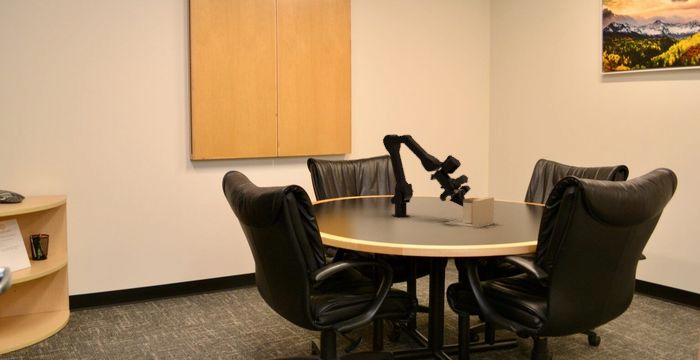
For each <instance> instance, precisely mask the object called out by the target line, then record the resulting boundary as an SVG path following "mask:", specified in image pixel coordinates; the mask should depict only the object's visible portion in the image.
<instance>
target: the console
mask: <svg viewBox="0 0 700 360" xmlns="http://www.w3.org/2000/svg"><path fill="white" fill-rule="evenodd" d="M494 217H495V197H494V196H486V197H481V198H480V199H476V200H473V215H472V223H464V222H463V218H457V219H455V220H450V221H446V222H445V224H446V225H451V226H459V227H468V228H475V229H477V228H478V229H479V228H483V227H486V226H489V225H493V224H495V222H494V221H495V220H494V219H495V218H494Z"/></svg>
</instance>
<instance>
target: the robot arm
mask: <svg viewBox="0 0 700 360" xmlns="http://www.w3.org/2000/svg"><path fill="white" fill-rule="evenodd" d="M382 144H383V146H384V149H385V150H386V152H388V154H389V157H390V161H391V162H390V163H391V166H392V170H393V176H394V179H395V180H394V181H395V187H394V195H393V196H392V197H391V199H390V203H391V205H394V213H392V214H391V216H393V217H396V218H403V217H410V215H409V214H407V211H408V210H407V205H408V203H411V199H412V198H413V196H414V194H413V193H414V189H413V185H412V183H408V182H407V181H408V180H407V178H406V174H405V170H404V167H403V162H402V156H401V146H402V144H403V145H405V146H406V147H407V148H408V149H409V151H411V153H413V154H414V155H415V156H416V158H418V160H420V163H421V166H422V167H423V168H424V170H425V171H426V172H428V173H430V181H434V180H436V181H437V183H438V184H439V185H440V189H441V190H443V191H442V193H440V195H439V199H440V201H441V202H445V201H447V198H448V197H450V199H449V201H450V202H453V203H454V204H456V205H459V206H460V207H462V208H463V200H464V199H466V198H465V195H467V193H469V191H470V190H471V187H470V185H467V183H468V182H469V177H468V176H467V175H465V174H462V175H459V176H458V177H456V178H454V177H453V178H452V177H451V175H453V174H454V173H455V172H456V171H457V170H458V169H459V167H461V165H462V163H461V161H460V160H459V159H457V158H456V157H454V156H453V155H452V154H449V155H448V156H447V157H446V159H445V160H443V161H440V159H438V157H435V156H434V155H432V154H430V153H428V151H426V150H425V149H424V148H423V147H422V146H421V145H420V144H419V143H418V142H417V141H416V140H415V139H414V138H413V136H412V135H411V134H403V135H398V134H394V133H393V134H386V135H385V136H384V137H383V139H382ZM432 172H434V173H432ZM463 184H465V185H463Z"/></svg>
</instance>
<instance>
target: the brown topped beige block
mask: <svg viewBox="0 0 700 360" xmlns="http://www.w3.org/2000/svg"><path fill="white" fill-rule="evenodd" d="M476 199H480V198H479V197H470V198H465V199H464V200H463V207H462V211H463V212H462V219H463V222H464V223H472V215H473V200H476Z"/></svg>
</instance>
